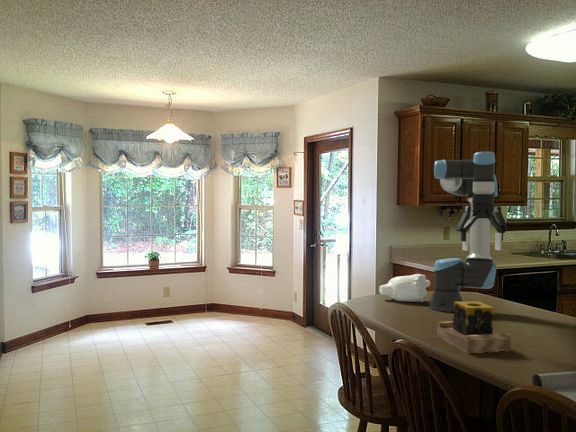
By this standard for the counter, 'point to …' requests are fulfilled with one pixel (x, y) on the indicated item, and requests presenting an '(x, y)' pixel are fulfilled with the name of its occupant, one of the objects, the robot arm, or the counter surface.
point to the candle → (473, 318)
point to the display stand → (473, 340)
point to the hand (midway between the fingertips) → (481, 250)
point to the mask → (406, 288)
